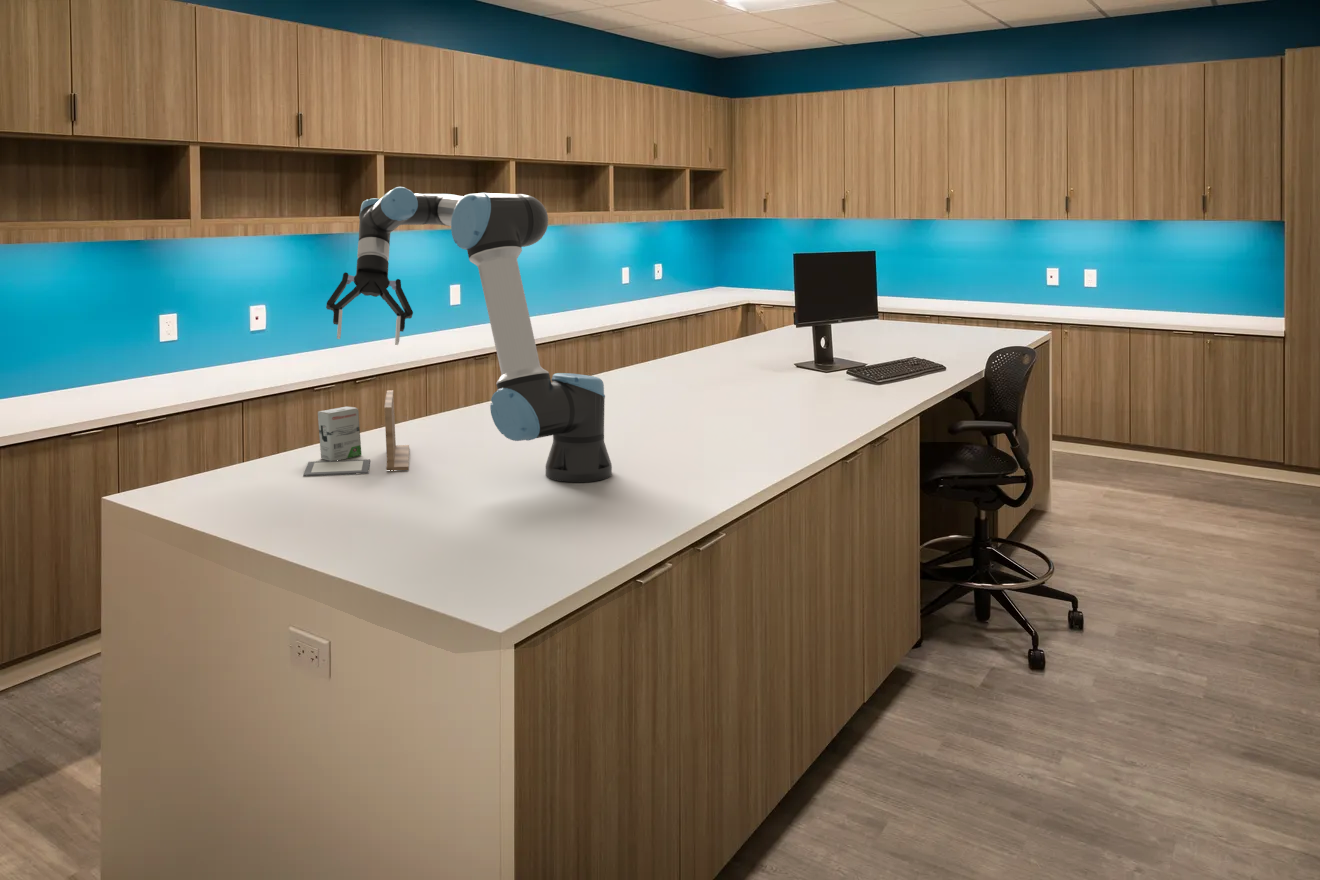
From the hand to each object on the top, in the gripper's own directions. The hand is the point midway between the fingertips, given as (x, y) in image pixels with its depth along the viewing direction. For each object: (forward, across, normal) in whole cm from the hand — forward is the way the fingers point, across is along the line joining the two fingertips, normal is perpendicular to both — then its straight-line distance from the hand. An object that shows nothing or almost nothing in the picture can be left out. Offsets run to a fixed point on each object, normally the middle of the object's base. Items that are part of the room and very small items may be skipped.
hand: (368, 340), depth 251 cm
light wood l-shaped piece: (+28, -9, -5) cm, 30 cm away
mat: (+32, +5, -1) cm, 33 cm away
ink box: (+27, +4, -11) cm, 29 cm away
